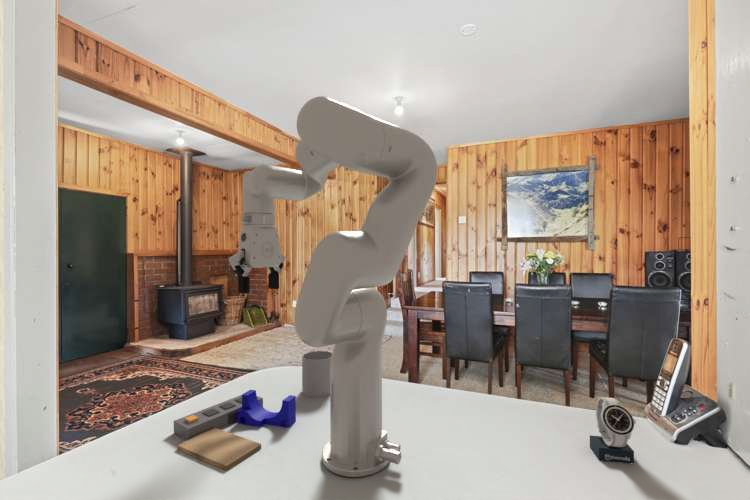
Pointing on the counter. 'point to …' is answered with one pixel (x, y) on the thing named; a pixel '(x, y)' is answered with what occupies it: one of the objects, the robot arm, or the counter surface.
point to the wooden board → (219, 448)
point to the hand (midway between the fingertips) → (259, 290)
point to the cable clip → (266, 412)
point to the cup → (316, 373)
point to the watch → (613, 432)
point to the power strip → (209, 418)
